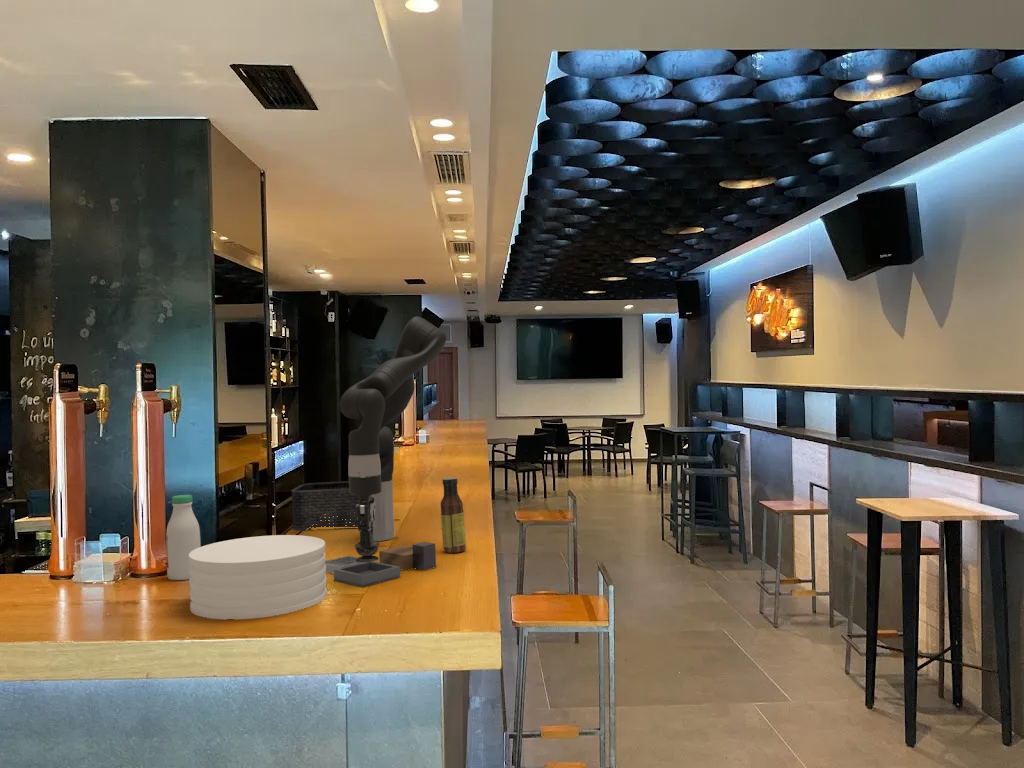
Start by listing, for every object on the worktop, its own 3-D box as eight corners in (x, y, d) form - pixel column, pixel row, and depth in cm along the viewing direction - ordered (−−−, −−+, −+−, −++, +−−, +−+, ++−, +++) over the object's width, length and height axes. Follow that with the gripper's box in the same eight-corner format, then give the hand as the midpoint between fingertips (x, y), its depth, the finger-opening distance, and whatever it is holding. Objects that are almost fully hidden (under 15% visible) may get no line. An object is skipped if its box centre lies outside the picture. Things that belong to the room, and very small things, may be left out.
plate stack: (352, 597, 170) (350, 544, 170) (230, 629, 150) (228, 569, 150) (284, 578, 189) (282, 530, 189) (167, 604, 169) (165, 551, 169)
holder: (318, 570, 195) (317, 562, 195) (349, 563, 203) (348, 555, 203) (341, 575, 189) (341, 567, 189) (372, 567, 196) (372, 560, 196)
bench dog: (413, 568, 194) (412, 544, 194) (425, 565, 197) (424, 541, 197) (424, 570, 191) (423, 546, 191) (436, 567, 194) (435, 543, 194)
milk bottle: (208, 574, 194) (205, 493, 194) (183, 582, 187) (180, 498, 187) (185, 572, 198) (183, 493, 198) (160, 579, 191) (157, 497, 191)
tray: (333, 580, 185) (333, 569, 185) (371, 570, 193) (370, 560, 193) (363, 587, 178) (362, 576, 178) (400, 577, 186) (400, 566, 186)
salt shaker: (383, 560, 184) (381, 509, 184) (358, 563, 181) (356, 511, 181) (376, 555, 189) (374, 506, 189) (352, 558, 187) (350, 508, 187)
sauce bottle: (467, 548, 216) (465, 476, 216) (464, 553, 210) (461, 479, 210) (444, 548, 217) (441, 476, 217) (439, 553, 210) (437, 479, 210)
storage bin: (290, 531, 251) (289, 490, 251) (303, 521, 270) (302, 482, 270) (380, 528, 252) (379, 486, 252) (387, 518, 271) (386, 479, 271)
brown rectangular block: (379, 566, 199) (379, 551, 199) (403, 560, 205) (402, 545, 205) (406, 572, 192) (405, 555, 192) (430, 565, 198) (429, 549, 198)
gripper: (352, 470, 192) (355, 539, 192) (344, 477, 178) (346, 552, 178) (383, 469, 193) (385, 538, 193) (377, 476, 178) (380, 550, 178)
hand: (367, 544), depth 185 cm, fingers closed on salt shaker, 6 cm apart
